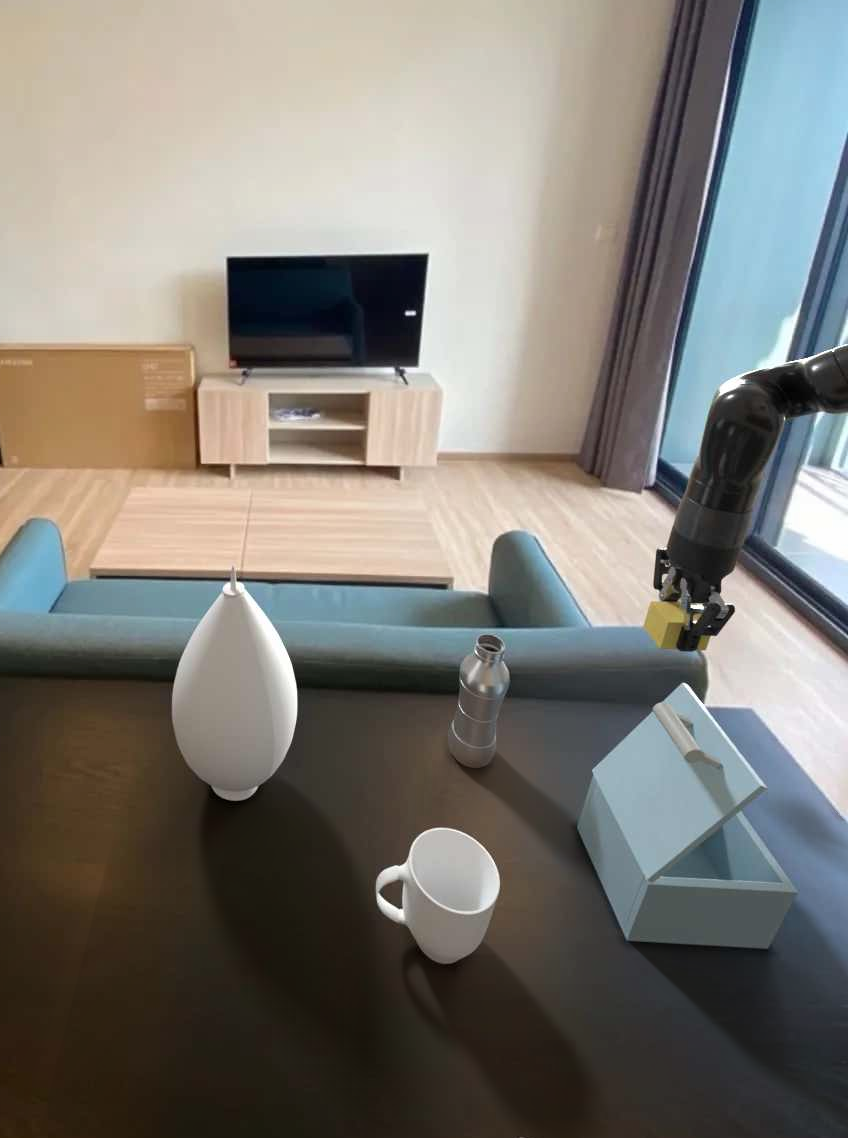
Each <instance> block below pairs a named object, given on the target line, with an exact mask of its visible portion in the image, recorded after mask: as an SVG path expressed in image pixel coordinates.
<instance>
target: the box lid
mask: <svg viewBox="0 0 848 1138" xmlns="http://www.w3.org/2000/svg"><path fill="white" fill-rule="evenodd" d="M591 773H592V774H593V775H594V776H595V778H596V780H597V782H598V784H599V786H600V788H601V790H602V792H603V794H604V796H605V798H606V800H607V802H608V804H609V806H610V808H611V810H612V812H613V814H614V816H615V818H616V820H617V822H618V824H619V826H620V828H621V830H622V832H623V834H624V836H625V838H626V840H627V842H628V844H629V845H630V847H631V849H632V851H633V853H634V855H635V857H636V859H637V861H638V863H639V865H640V867H641V869H642V871H643V873H644V875H645V877H646V879H647V880H648V881H650V882H654V881H656V880H657V879H658V878H659V877H661V876H662V875H663V874H664V873H665V872H667V871H668V870H669V869H670V868H672V867H673V866H674V865H675V864H676V863H678V862H679V861H680V860H681V859H682V858H684V857H685V856H686V855H687V854H689V853H690V852H691V851H692V850H693V849H695V848H696V847H697V846H698V845H700V844H701V843H702V842H703V841H704V840H706V839H707V838H708V837H709V836H710V835H712V834H713V833H714V832H715V831H717V830H718V829H719V828H720V827H721V826H723V825H724V824H725V823H726V822H728V821H729V820H730V819H731V818H732V817H734V816H735V815H736V814H737V813H738V812H740V811H741V812H742V810H744V809H745V808H746V807H747V806H748V805H749V804H751V803H752V802H753V801H755V800H756V799H757V798H758V797H759V796H761V795H762V794H763V793H764V792H766V791H767V790H768V787H767V786H766V785H765V783H764V781H763V780H762V779H761V778H760V776H759V775H758V774H757V773H756V772H755V769H753V767H752V766H751V765H750V763H749V762H748V761H747V760H746V758H745V757H744V756H743V754H742V753H741V752H740V751H739V749H738V747H736V745H735V744H734V742H733V741H732V740H731V739H730V737H729V736H728V735H727V734H726V732H725V731H724V730H723V729H722V727H721V726H720V725H719V723H718V722H717V720H715V718H714V717H713V716H712V714H711V713H710V712H709V710H708V709H707V708H706V706H705V705H704V704H703V702H702V701H701V700H700V699H699V697H698V696H697V695H696V693H695V692H694V691H693V689H692V688H691V687H690V686H689V685H688V684H687V683H685V682H681V683H680V684H679V685H678V686H677V687H676V688H675V689H674V690H673V691H671V693H670V694H669V695H668V696H667V697H666V698H665V699H664V700H663V701H661V702H658V703H656V704H655V705H653V707H652V711H651V712H650V713H649V714H648V715H647V716H646V717H645V718H644V719H643V720H642V721H641V722H640V723H639V724H638V725H637V726H636V727H634V729H633V730H632V731H630V733H628V735H626V736H625V737H624V738H623V740H621V741H620V742H619V743H618V744H617V745H616V746H615V747H614V748H613V749H612V750H611V751H610V752H609V753H608V754H607V755H606V756H605V757H604V758H603V759H602V760H601V761H599V763H598V764H597V765H595V767H593V768H592V770H591Z"/></svg>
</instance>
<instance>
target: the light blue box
mask: <svg viewBox="0 0 848 1138" xmlns="http://www.w3.org/2000/svg"><path fill="white" fill-rule="evenodd" d="M577 831H578V833H579V835H580V838H581V840H582V842H583V845H584V847H585V849H586V851H587V853H588V856H589V858H590V861H591V863H592V865H593V867H594V870H595V871H596V874H597V876H598V879H599V881H600V882H601V885H602V887H603V890H604V892H605V895H606V896H607V899H608V901H609V904H610V906H611V908H612V910H613V912H614V915H615V918H616V919H617V921H618V924H619V926H620V929H621V931H622V933H623V935H624V937H625V940H626V941H627V942H643V943H644V942H648V943H663V944H677V945H679V944H680V945H698V946H715V947H730V948H731V947H732V948H746V949H747V948H748V949H766V950H767V949H769V947H770V945H771V944H772V942H773V940H774V938H775V936H776V934H777V933H778V931H779V929H780V927H781V925H782V924H783V922H784V920H785V918H786V916H787V914H788V912H789V910H790V909H791V906H792V905H793V903H794V901H795V899H796V898H797V896H798V894H799V891H798V889H796V887H795V886H794V885H793V883H792V881H791V880H790V879H789V877H788V876H787V875H786V873H785V871H783V869H782V867H781V866H780V865H779V863H778V861H777V860H776V859H775V857H774V856H773V855H772V853H771V852H770V850H769V849H768V847H767V845H765V843H764V842H763V840H762V839H761V837H760V836H759V835H758V833H757V832H756V830H755V829H754V827H753V826H752V824H751V823H750V822H749V820H748V819H747V817H746V816H745V815H744V813H743V812H742V810H741V811H740V812H738V813H737V814H736V815H735V816H734V817H732V818H731V819H730V820H729V821H728V822H726V823H725V824H724V825H723V826H721V827H720V828H719V829H718V830H717V831H715V832H714V833H713V834H712V835H710V836H709V837H708V838H707V839H706V840H704V841H703V842H702V843H701V844H700V845H698V846H697V847H696V848H695V849H693V850H692V851H691V852H690V853H689V854H687V855H686V856H685V857H684V858H682V859H681V860H680V861H679V862H678V863H676V864H675V865H674V866H673V867H672V868H670V869H669V870H668V871H667V872H665V873H664V874H663V875H662V876H661V877H659V878H658V879H657V880H656V881H654V882H650V881H648V880H647V879H646V877H645V875H644V873H643V871H642V869H641V867H640V865H639V863H638V861H637V859H636V857H635V855H634V853H633V851H632V849H631V847H630V845H629V844H628V842H627V840H626V838H625V836H624V834H623V832H622V830H621V828H620V826H619V824H618V822H617V820H616V818H615V816H614V814H613V812H612V810H611V808H610V806H609V804H608V802H607V800H606V798H605V796H604V794H603V792H602V790H601V788H600V786H599V784H598V782H597V780H596V778H595V776H594V774H593V775H592V778H591V781H590V784H589V787H588V791H587V795H586V797H585V801H584V803H583V807H582V811H581V813H580V817H579V820H578V823H577Z"/></svg>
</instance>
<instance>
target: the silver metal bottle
mask: <svg viewBox="0 0 848 1138" xmlns="http://www.w3.org/2000/svg"><path fill="white" fill-rule="evenodd" d="M505 650H506V645H505V642H504V641H503V640H502V638H500V637H498V636H497V635H494V634H492V633H481V634H480V635H478V636H477V638H476V640H475V644H474V646H473V651H472V652H471V653H469V654H468V655H467V656H465V657H464V659H463V660H462V662H461V663H460V665H459V694H458V701H457V702H458V703H457V707H456V710H455V714H454V718H453V720H452V722H451V724H450V727H449V729H448V732H447V744H448V749H449V751H450V753H451V754H452V756H453V757H454V759H455V760H456V761H457V762H458V763H459V764H461V765H463V766H464V767H468V768H471V769H479V768H483V767H485V766H487V765H489V764H490V763H491V762H492V760H493V758H494V756H495V755H496V750H497V724H498V723H497V722H498V716H499V714H500V709H501V706H502V703H503V701H504V699H505V696H506V695H507V692H508V690H509V686H510V683H511V679H510V672H509V669H508V667H507V666H506V664H505V661H504V659H505V652H506V651H505Z"/></svg>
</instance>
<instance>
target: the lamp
mask: <svg viewBox="0 0 848 1138" xmlns="http://www.w3.org/2000/svg"><path fill="white" fill-rule="evenodd" d="M221 591H222V592H221V593H220V594H219V595H218V597H217V598H216V600H215V601H214V602H213V604H212V605H211V606H210V608H209V609H208V610H207V611H206V613H205V614H204V616H203V617H202V619H201V620H200V621H199V623H198V625H197V626H196V628H195V630H194V631H193V632H192V635H191V636H190V638H189V640H188V642H187V645H186V646H185V648H184V651H183V652H182V655H181V657H180V660H179V663H178V666H177V668H176V673H175V678H174V683H173V687H172V695H171V720H172V721H171V722H172V727H173V731H174V736H175V740H176V744H177V746H178V749H179V752H180V753H181V755H182V757H183V759H184V761H185V762H186V764H187V766H188V767H189V769H191V771H192V772H193V773H194V774H195V775H196V776H197V777H198V778H199V779H200V780H202V781H203V782H205V783H206V784H208V785H209V786H211V789H212V790H213V792H214V793H215V794H216V795H217V796H218V797H220V798H222V799H225V800H228V801H234V802H236V801H244V800H247V799H248V798H251V797H252V796H253V795H254V794H255V793H256V791H257V790H258V788H259V786H260V785H262V784H264V783H265V782H266V781H268V779H270V778H271V777H272V776H273V775H274V774H275V773H276V771H277V770H278V769H279V767H280V766H281V764H282V763H283V762H284V759H285V758H286V756H287V753H288V751H289V749H290V746H291V744H292V741H293V738H294V733H295V728H296V723H297V718H298V688H297V681H296V678H295V677H296V676H295V672H294V668H293V664H292V661H291V659H290V656H289V654H288V651H287V649H286V646H285V645H284V643H283V641H282V639H281V637H280V635H279V633H278V632H277V630H276V628H275V626H274V625H273V623H272V622H271V621H270V620H269V618H268V616H267V615H266V614H265V612H264V610H262V608H261V607H260V606H259V604H258V603H257V602H256V601H255V600H254V598H253V596H251V594H249V592H248V591H247V590H246V589H245V585H244V583H242V582H240V581H237V575H236V567H235V565H234V564H233V565H232V566H231V570H230V581H229V582H226V583H225V584H224V585H223V586H222V590H221Z"/></svg>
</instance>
